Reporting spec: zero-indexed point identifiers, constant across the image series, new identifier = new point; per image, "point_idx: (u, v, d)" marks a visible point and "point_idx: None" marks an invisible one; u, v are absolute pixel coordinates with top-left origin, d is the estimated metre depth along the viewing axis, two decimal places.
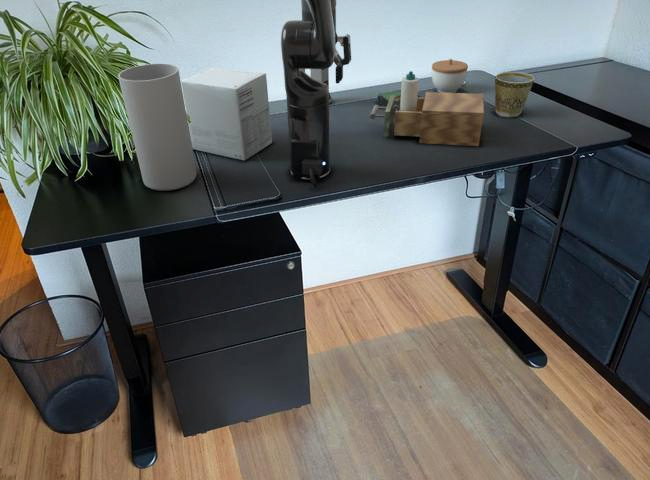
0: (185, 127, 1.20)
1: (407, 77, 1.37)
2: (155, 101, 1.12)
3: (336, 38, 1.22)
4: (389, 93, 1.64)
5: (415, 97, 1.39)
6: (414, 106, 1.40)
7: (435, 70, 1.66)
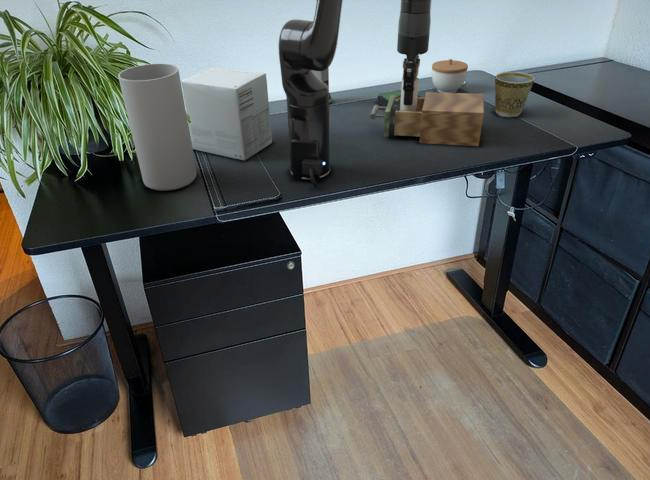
0: (185, 127, 1.20)
1: None
2: (155, 101, 1.12)
3: (407, 64, 1.32)
4: (389, 93, 1.64)
5: (415, 97, 1.39)
6: (414, 106, 1.40)
7: (435, 70, 1.66)
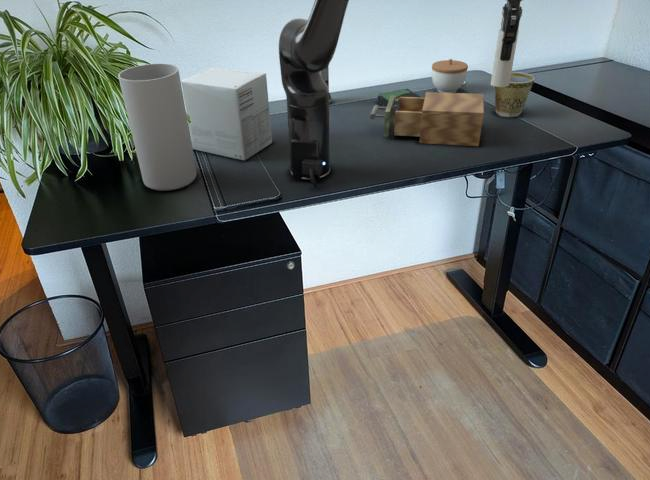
0: (185, 127, 1.20)
1: None
2: (155, 101, 1.12)
3: (510, 11, 1.16)
4: (389, 93, 1.64)
5: (513, 51, 1.23)
6: (510, 62, 1.25)
7: (435, 70, 1.66)
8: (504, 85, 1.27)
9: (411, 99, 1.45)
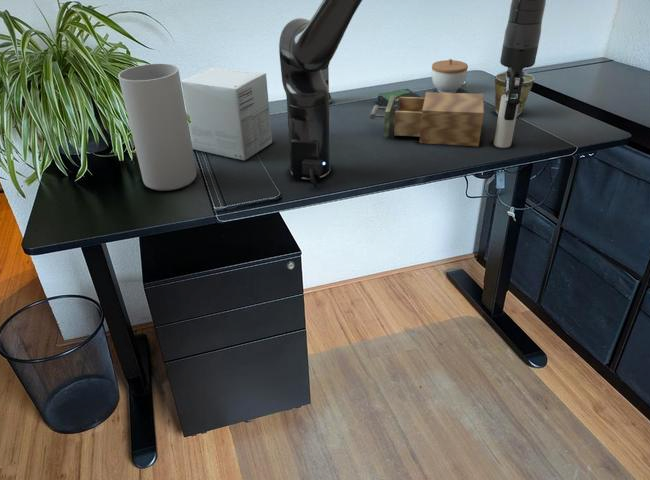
0: (185, 127, 1.20)
1: None
2: (155, 101, 1.12)
3: (513, 76, 1.23)
4: (389, 93, 1.64)
5: (515, 116, 1.31)
6: (512, 126, 1.32)
7: (435, 70, 1.66)
8: (506, 146, 1.35)
9: (411, 99, 1.45)
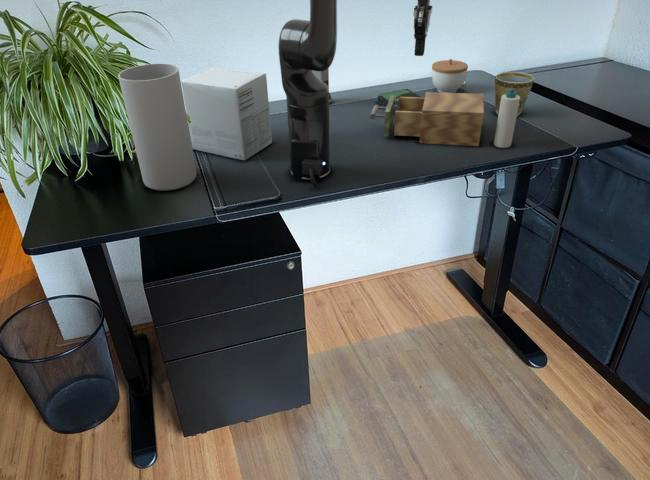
0: (185, 127, 1.20)
1: (508, 95, 1.29)
2: (155, 101, 1.12)
3: (418, 11, 1.22)
4: (389, 93, 1.64)
5: (515, 116, 1.31)
6: (512, 126, 1.32)
7: (435, 70, 1.66)
8: (506, 146, 1.35)
9: (411, 99, 1.45)
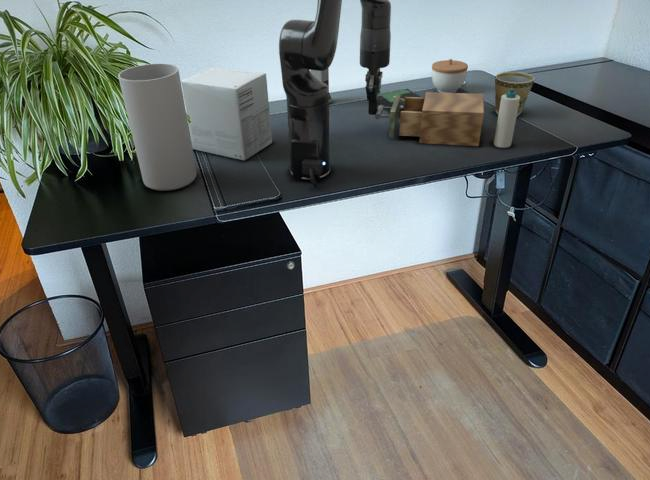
0: (185, 127, 1.20)
1: (508, 95, 1.29)
2: (155, 101, 1.12)
3: (369, 79, 1.36)
4: (389, 93, 1.64)
5: (515, 116, 1.31)
6: (512, 126, 1.32)
7: (435, 70, 1.66)
8: (506, 146, 1.35)
9: (416, 99, 1.45)
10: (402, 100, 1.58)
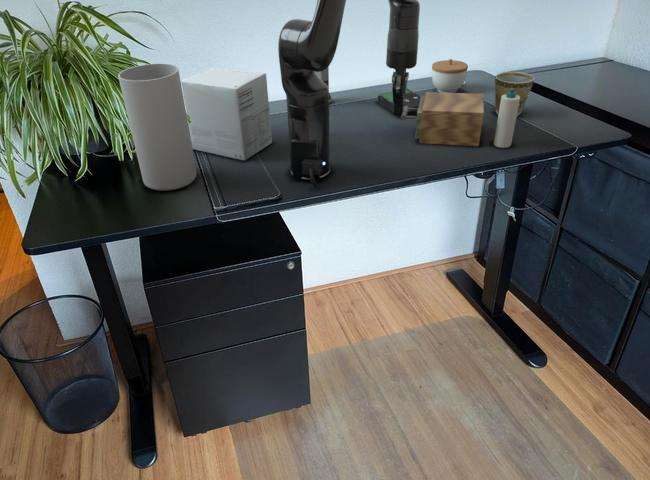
0: (185, 127, 1.20)
1: (508, 95, 1.29)
2: (155, 101, 1.12)
3: (395, 79, 1.35)
4: (389, 93, 1.64)
5: (515, 116, 1.31)
6: (512, 126, 1.32)
7: (435, 70, 1.66)
8: (506, 146, 1.35)
9: None
10: None
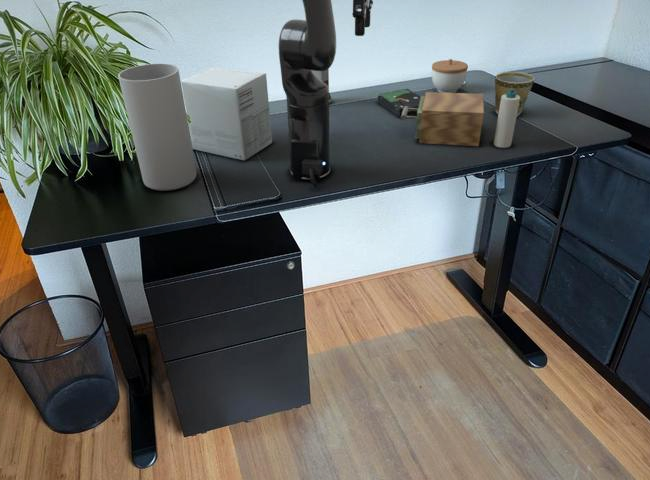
0: (185, 127, 1.20)
1: (508, 95, 1.29)
2: (155, 101, 1.12)
3: None
4: (389, 93, 1.64)
5: (515, 116, 1.31)
6: (512, 126, 1.32)
7: (435, 70, 1.66)
8: (506, 146, 1.35)
9: None
10: (402, 100, 1.58)
